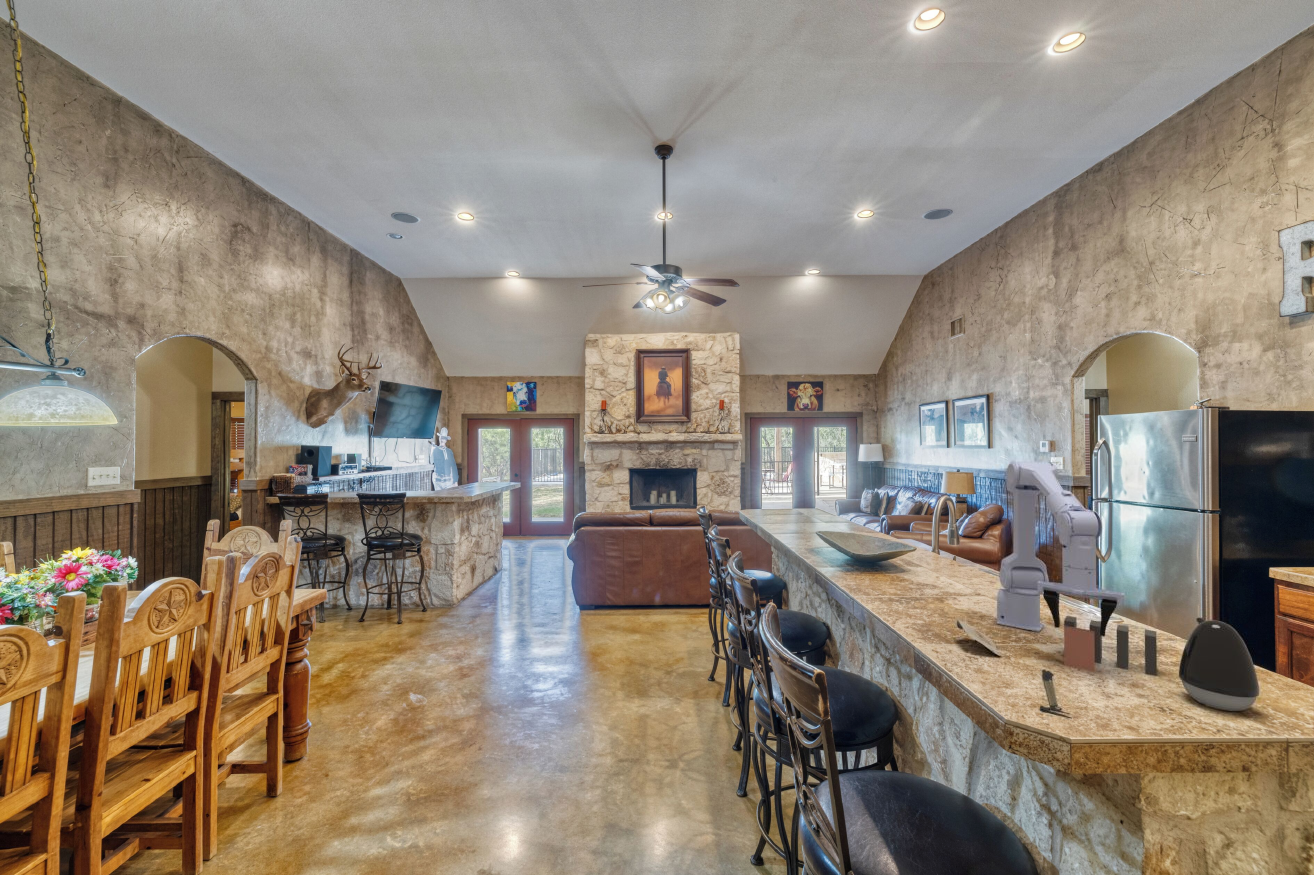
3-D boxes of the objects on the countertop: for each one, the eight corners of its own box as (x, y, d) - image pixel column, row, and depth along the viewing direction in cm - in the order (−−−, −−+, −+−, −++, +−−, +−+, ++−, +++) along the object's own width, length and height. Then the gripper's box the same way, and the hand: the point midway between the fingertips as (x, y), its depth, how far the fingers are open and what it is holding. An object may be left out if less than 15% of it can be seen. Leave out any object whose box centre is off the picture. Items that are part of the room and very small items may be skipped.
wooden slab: (1005, 667, 125) (959, 630, 134) (1014, 655, 124) (967, 619, 134) (985, 667, 118) (938, 628, 128) (995, 654, 118) (947, 616, 127)
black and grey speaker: (1234, 696, 102) (1233, 615, 102) (1275, 722, 92) (1274, 632, 92) (1166, 688, 105) (1165, 609, 105) (1199, 712, 95) (1198, 625, 96)
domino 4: (1145, 673, 112) (1144, 634, 112) (1145, 666, 116) (1144, 629, 116) (1156, 676, 111) (1156, 636, 111) (1156, 669, 115) (1156, 631, 115)
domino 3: (1116, 667, 115) (1116, 629, 115) (1117, 661, 119) (1117, 624, 119) (1127, 669, 114) (1127, 631, 114) (1128, 663, 118) (1128, 626, 118)
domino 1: (1064, 656, 121) (1064, 620, 122) (1066, 650, 125) (1066, 615, 125) (1074, 658, 120) (1074, 622, 120) (1076, 652, 124) (1076, 617, 124)
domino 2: (1089, 661, 118) (1089, 624, 118) (1091, 655, 122) (1091, 619, 122) (1100, 663, 117) (1099, 626, 117) (1102, 657, 121) (1101, 621, 121)
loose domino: (1094, 671, 113) (1093, 633, 113) (1064, 664, 116) (1064, 627, 116) (1094, 669, 114) (1094, 631, 114) (1065, 662, 117) (1065, 625, 118)
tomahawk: (1087, 729, 91) (1088, 722, 91) (1039, 714, 95) (1040, 707, 94) (1078, 684, 108) (1079, 678, 108) (1038, 672, 112) (1038, 667, 112)
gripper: (1035, 564, 118) (1035, 627, 117) (1122, 575, 108) (1123, 643, 107) (1040, 560, 123) (1040, 620, 122) (1124, 570, 113) (1124, 635, 113)
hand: (1079, 630), depth 115 cm, fingers open, 7 cm apart
